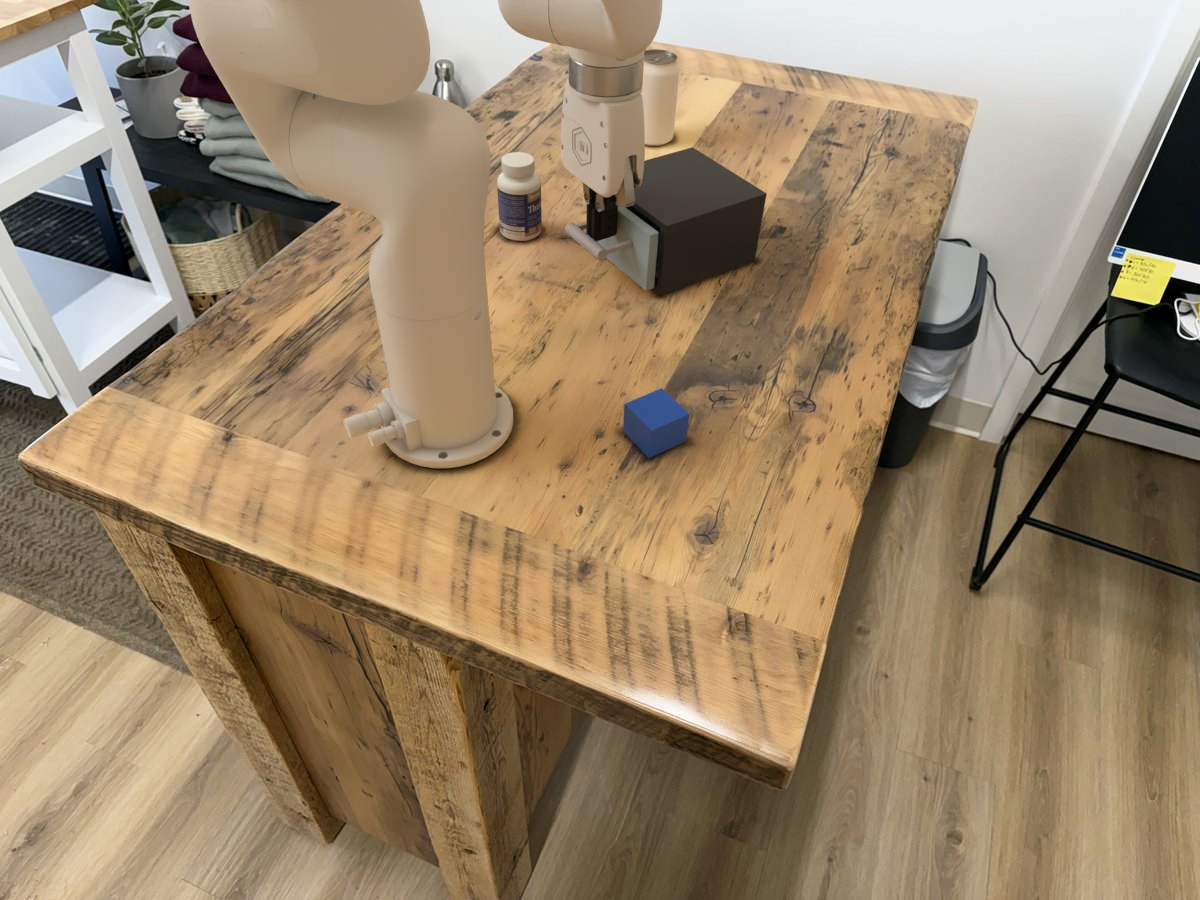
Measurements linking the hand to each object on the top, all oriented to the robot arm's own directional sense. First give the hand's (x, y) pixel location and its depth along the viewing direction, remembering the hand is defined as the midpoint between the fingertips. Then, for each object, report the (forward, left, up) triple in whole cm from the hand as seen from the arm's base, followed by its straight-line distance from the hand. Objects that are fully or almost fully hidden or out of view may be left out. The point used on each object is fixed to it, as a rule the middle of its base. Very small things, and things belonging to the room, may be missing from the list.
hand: (601, 235), depth 97 cm
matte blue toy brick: (-11, -26, -6) cm, 29 cm away
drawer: (+6, 0, -5) cm, 8 cm away
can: (+28, +28, -6) cm, 40 cm away
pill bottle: (-3, +14, -6) cm, 15 cm away
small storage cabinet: (+11, 0, -6) cm, 12 cm away
